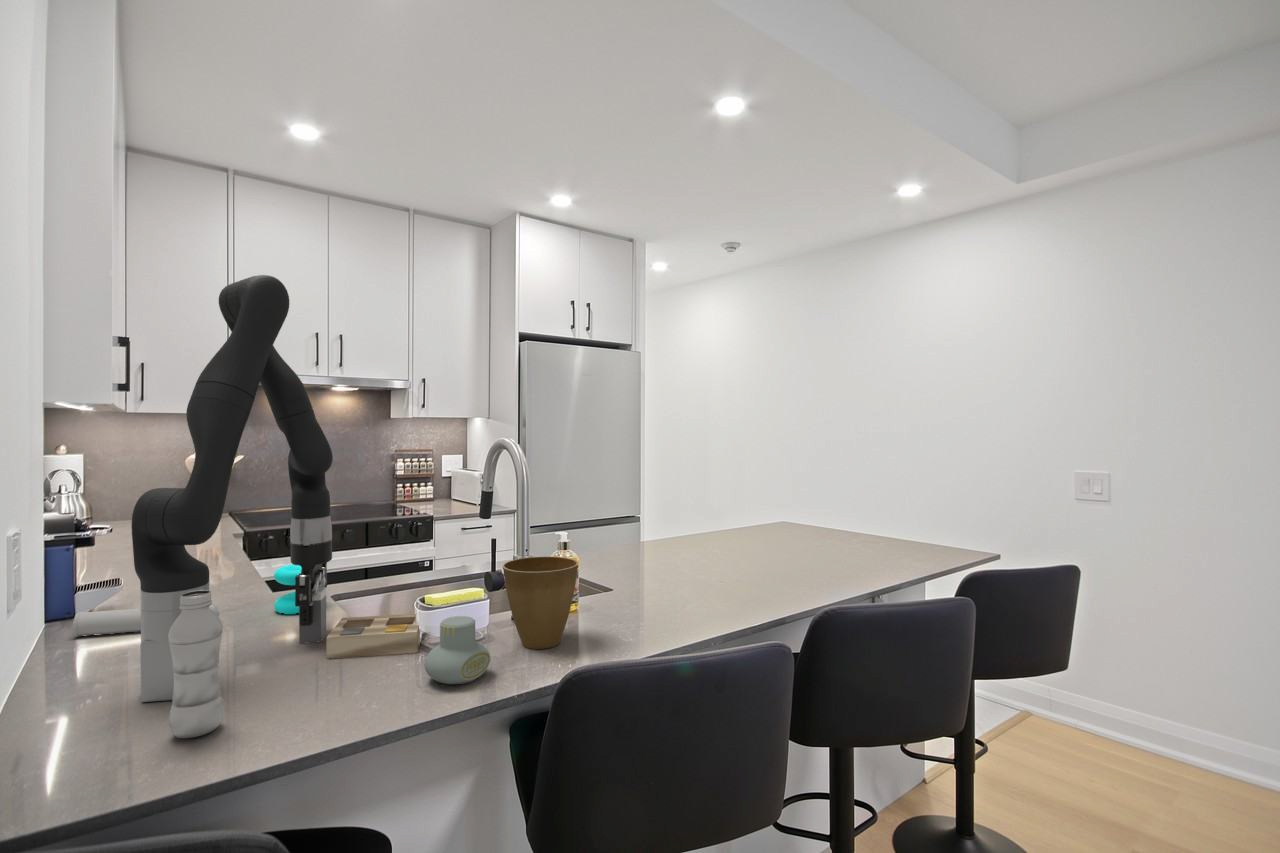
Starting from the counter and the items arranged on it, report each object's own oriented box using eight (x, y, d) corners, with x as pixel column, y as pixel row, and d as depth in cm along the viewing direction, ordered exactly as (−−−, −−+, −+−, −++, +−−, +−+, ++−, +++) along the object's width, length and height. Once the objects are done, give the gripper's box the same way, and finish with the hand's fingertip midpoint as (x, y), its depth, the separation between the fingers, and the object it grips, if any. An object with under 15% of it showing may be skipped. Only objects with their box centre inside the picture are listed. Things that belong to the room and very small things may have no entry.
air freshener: (452, 695, 106) (452, 633, 106) (416, 684, 110) (416, 625, 110) (497, 672, 116) (497, 616, 116) (462, 663, 120) (462, 609, 120)
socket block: (416, 652, 125) (416, 630, 125) (326, 658, 122) (326, 635, 122) (424, 632, 137) (424, 611, 137) (342, 637, 134) (342, 616, 134)
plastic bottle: (234, 721, 97) (233, 586, 96) (205, 744, 90) (204, 599, 90) (189, 722, 97) (188, 587, 96) (157, 745, 90) (155, 600, 89)
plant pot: (593, 639, 133) (593, 560, 133) (543, 662, 121) (543, 575, 120) (538, 626, 141) (538, 552, 141) (486, 646, 129) (486, 565, 129)
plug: (321, 642, 131) (320, 592, 131) (299, 643, 130) (299, 593, 130) (326, 635, 135) (326, 587, 135) (305, 636, 134) (305, 588, 134)
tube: (223, 602, 145) (86, 611, 137) (216, 601, 140) (74, 610, 132) (221, 627, 144) (82, 638, 136) (214, 627, 139) (70, 638, 131)
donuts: (327, 567, 152) (280, 574, 146) (328, 610, 152) (280, 618, 146) (314, 560, 160) (269, 566, 153) (315, 601, 160) (269, 609, 153)
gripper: (301, 533, 139) (302, 609, 139) (279, 546, 125) (281, 631, 125) (339, 531, 140) (340, 606, 141) (322, 545, 126) (323, 628, 127)
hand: (312, 618), depth 133 cm, fingers open, 8 cm apart
